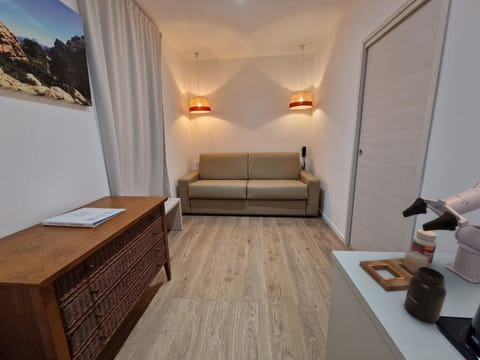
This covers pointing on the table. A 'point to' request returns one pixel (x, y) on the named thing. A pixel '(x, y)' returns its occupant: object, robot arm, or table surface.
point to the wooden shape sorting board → (394, 268)
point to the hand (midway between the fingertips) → (413, 221)
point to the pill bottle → (425, 244)
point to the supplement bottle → (426, 295)
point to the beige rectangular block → (414, 262)
